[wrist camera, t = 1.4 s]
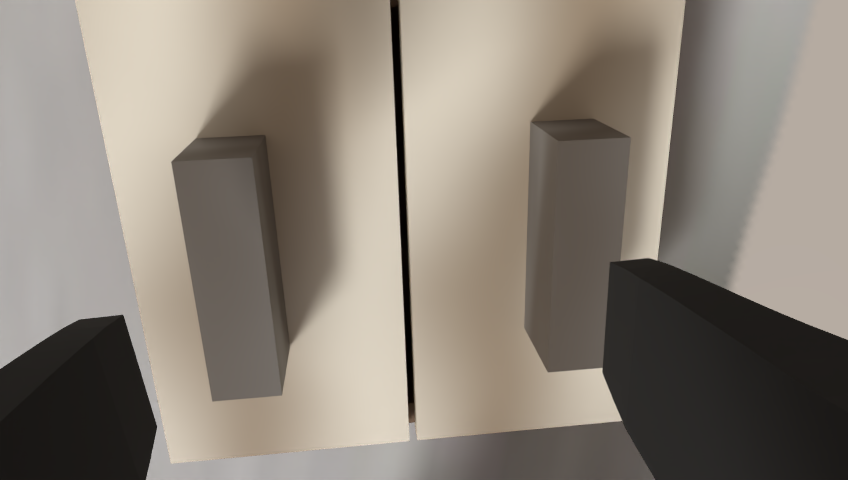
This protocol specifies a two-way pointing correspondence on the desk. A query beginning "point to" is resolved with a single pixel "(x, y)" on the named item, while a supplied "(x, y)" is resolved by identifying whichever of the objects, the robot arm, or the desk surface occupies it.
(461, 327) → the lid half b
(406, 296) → the walnut box
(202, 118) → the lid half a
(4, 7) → the desk surface
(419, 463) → the desk surface
